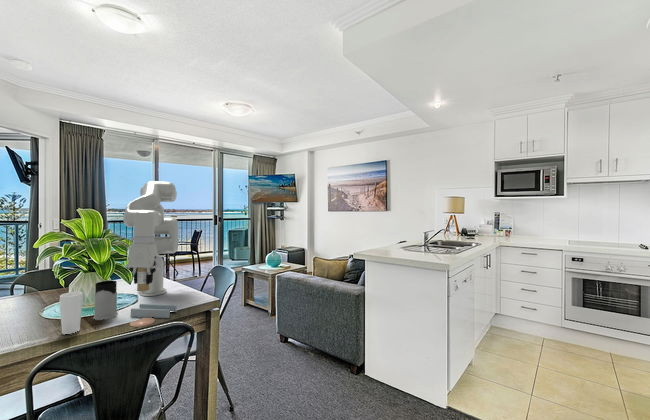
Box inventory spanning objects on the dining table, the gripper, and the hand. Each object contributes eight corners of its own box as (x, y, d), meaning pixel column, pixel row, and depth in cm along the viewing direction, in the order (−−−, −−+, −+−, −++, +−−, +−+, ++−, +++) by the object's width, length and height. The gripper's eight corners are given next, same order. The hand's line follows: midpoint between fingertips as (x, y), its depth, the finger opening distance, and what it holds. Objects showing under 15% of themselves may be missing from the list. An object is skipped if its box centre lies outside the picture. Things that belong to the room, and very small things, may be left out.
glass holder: (89, 321, 123) (90, 286, 123) (102, 309, 137) (103, 277, 136) (113, 318, 126) (114, 284, 126) (124, 307, 140) (124, 276, 139)
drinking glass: (54, 335, 110) (54, 296, 109) (72, 327, 116) (73, 290, 116) (68, 337, 109) (69, 297, 108) (86, 329, 115) (87, 292, 115)
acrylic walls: (130, 316, 129) (130, 308, 129) (140, 311, 136) (140, 303, 136) (168, 318, 129) (168, 310, 129) (176, 312, 136) (176, 304, 136)
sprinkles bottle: (148, 288, 126) (148, 257, 126) (150, 290, 123) (151, 259, 123) (135, 290, 123) (136, 258, 123) (137, 292, 120) (138, 260, 119)
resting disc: (124, 326, 119) (124, 325, 119) (139, 318, 128) (139, 317, 128) (146, 327, 119) (146, 326, 119) (159, 318, 128) (159, 317, 128)
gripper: (117, 240, 119) (117, 285, 119) (158, 242, 119) (157, 286, 119) (130, 238, 126) (129, 280, 127) (168, 239, 126) (167, 281, 127)
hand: (143, 282), depth 123 cm, fingers closed on sprinkles bottle, 4 cm apart
